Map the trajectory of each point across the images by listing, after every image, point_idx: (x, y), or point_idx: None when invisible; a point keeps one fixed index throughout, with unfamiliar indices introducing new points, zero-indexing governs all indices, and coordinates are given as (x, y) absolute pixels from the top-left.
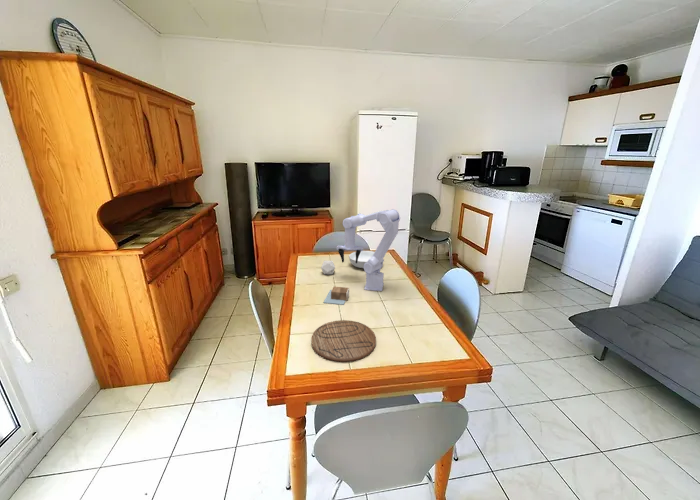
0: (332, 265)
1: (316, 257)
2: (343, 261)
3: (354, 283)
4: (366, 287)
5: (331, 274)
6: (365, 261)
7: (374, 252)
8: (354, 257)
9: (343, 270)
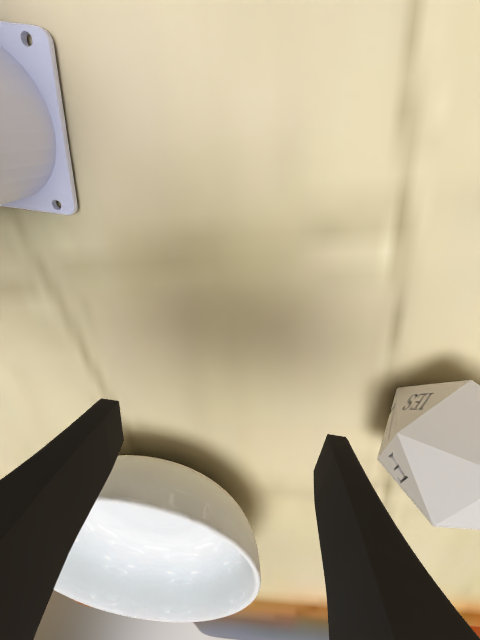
0: (432, 456)
1: (468, 590)
2: (324, 456)
3: (191, 212)
4: (33, 78)
5: (405, 387)
6: (160, 530)
7: (90, 599)
8: (226, 567)
9: (300, 444)
